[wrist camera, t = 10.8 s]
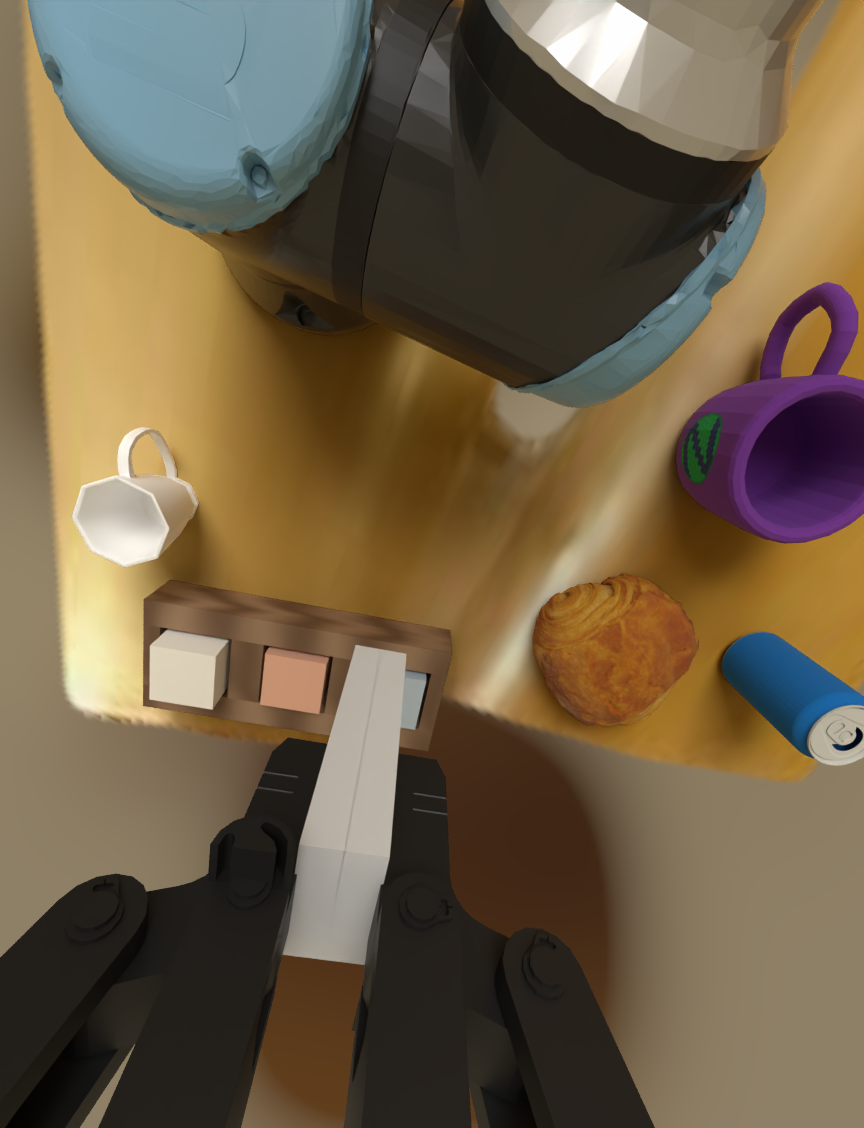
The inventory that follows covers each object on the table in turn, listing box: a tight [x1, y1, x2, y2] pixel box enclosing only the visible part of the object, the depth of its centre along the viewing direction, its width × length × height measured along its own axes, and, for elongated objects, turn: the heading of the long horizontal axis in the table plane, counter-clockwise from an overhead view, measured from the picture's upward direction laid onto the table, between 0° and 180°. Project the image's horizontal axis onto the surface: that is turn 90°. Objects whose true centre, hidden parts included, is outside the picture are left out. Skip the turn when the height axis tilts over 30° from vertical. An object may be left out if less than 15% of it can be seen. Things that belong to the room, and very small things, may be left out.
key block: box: [143, 580, 452, 751], centre depth 46 cm, size 27×11×4 cm, turn 78°
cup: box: [72, 427, 199, 567], centre depth 39 cm, size 7×10×8 cm
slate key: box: [400, 669, 426, 730], centre depth 46 cm, size 5×5×4 cm
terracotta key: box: [260, 646, 333, 714], centre depth 46 cm, size 5×5×4 cm
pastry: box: [533, 573, 699, 727], centre depth 46 cm, size 14×16×8 cm
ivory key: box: [149, 629, 232, 710], centre depth 43 cm, size 5×5×4 cm
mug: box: [676, 282, 864, 543], centre depth 36 cm, size 17×11×10 cm, turn 175°
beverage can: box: [722, 632, 864, 765], centre depth 43 cm, size 6×6×12 cm
